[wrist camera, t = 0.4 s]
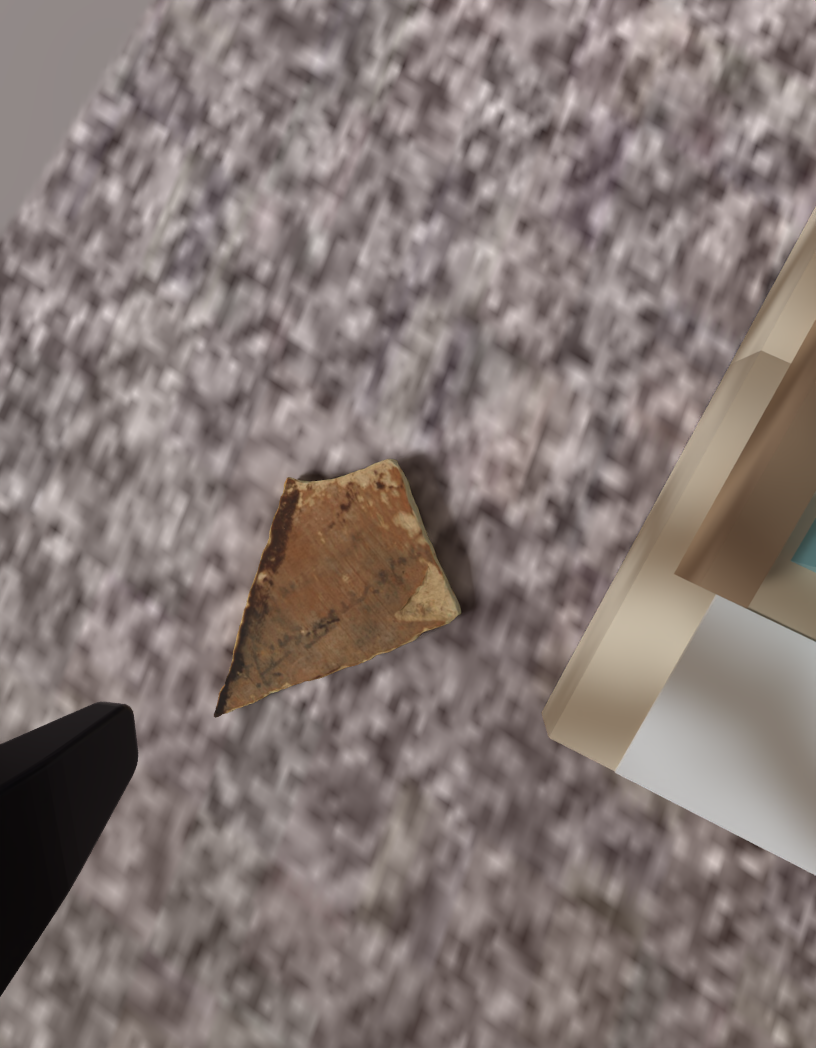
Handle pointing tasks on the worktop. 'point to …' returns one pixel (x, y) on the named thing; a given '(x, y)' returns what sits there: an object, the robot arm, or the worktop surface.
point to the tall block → (807, 550)
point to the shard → (337, 584)
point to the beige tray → (721, 603)
